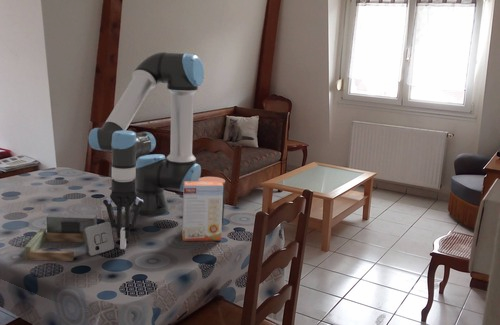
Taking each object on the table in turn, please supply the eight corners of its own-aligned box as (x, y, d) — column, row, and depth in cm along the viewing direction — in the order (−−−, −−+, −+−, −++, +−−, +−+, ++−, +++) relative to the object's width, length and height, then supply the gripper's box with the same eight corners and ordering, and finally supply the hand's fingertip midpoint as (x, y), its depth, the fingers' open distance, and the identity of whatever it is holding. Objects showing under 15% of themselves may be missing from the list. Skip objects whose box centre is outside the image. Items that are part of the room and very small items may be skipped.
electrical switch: (90, 257, 166) (89, 229, 164) (81, 253, 169) (79, 226, 167) (115, 249, 173) (113, 222, 171) (105, 246, 176) (104, 220, 175)
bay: (85, 240, 179) (85, 229, 178) (72, 260, 162) (72, 248, 161) (41, 239, 177) (41, 228, 176) (24, 259, 161) (24, 247, 160)
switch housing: (97, 235, 183) (97, 214, 182) (94, 240, 179) (93, 218, 177) (50, 234, 182) (50, 212, 180) (46, 239, 177) (46, 217, 176)
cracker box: (219, 235, 191) (222, 180, 187) (221, 241, 186) (224, 185, 181) (181, 235, 189) (183, 180, 184) (182, 241, 183) (184, 184, 179)
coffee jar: (196, 219, 207) (198, 176, 203) (222, 220, 208) (225, 177, 204) (195, 228, 196) (197, 183, 192) (223, 229, 197) (225, 184, 193)
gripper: (145, 176, 170) (144, 243, 175) (105, 175, 169) (105, 242, 174) (142, 182, 163) (141, 252, 168) (100, 181, 162) (100, 251, 167)
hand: (123, 247), depth 171 cm, fingers closed
